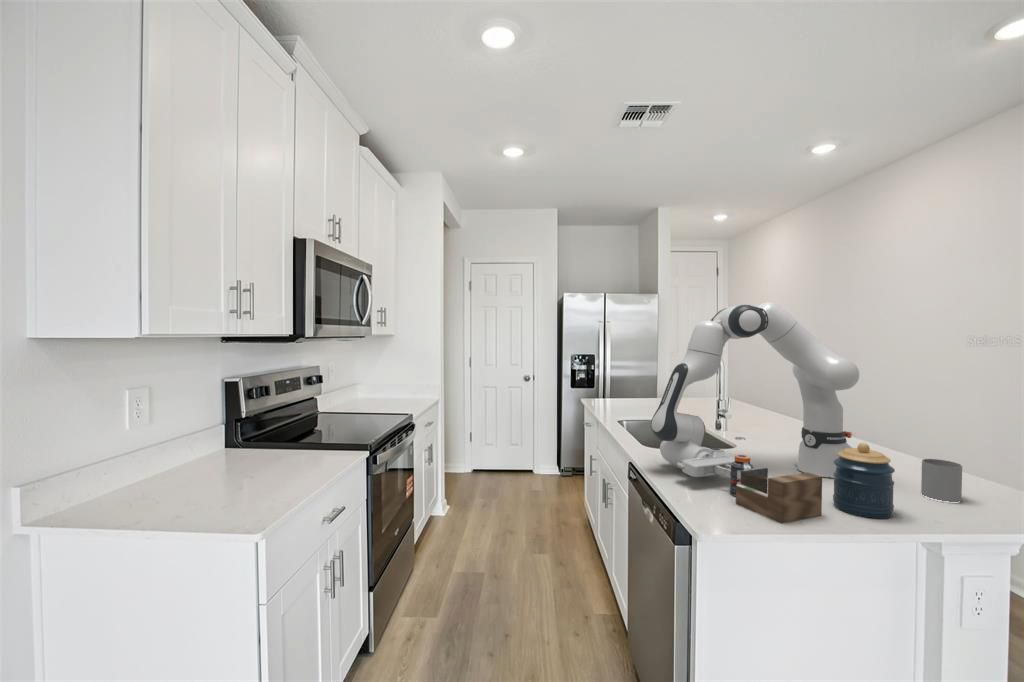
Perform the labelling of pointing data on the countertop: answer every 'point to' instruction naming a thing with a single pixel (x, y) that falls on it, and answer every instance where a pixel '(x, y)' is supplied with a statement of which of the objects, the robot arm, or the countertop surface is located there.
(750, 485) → the brushed metal plate
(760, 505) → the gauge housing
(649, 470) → the countertop surface
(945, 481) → the cup
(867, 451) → the canister
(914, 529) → the countertop surface
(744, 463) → the pill bottle
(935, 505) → the countertop surface
